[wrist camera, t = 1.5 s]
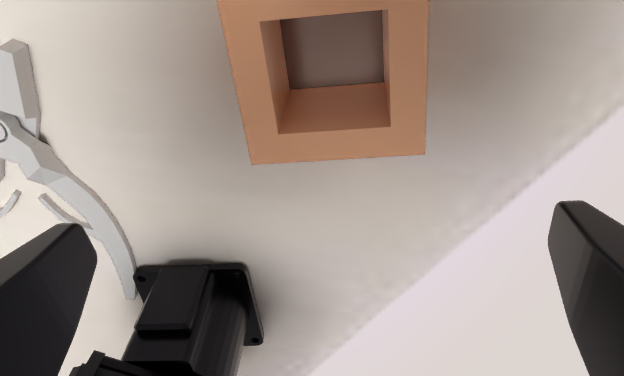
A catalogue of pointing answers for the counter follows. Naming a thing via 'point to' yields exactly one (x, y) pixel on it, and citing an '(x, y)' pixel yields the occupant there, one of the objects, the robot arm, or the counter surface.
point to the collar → (327, 100)
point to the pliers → (51, 162)
